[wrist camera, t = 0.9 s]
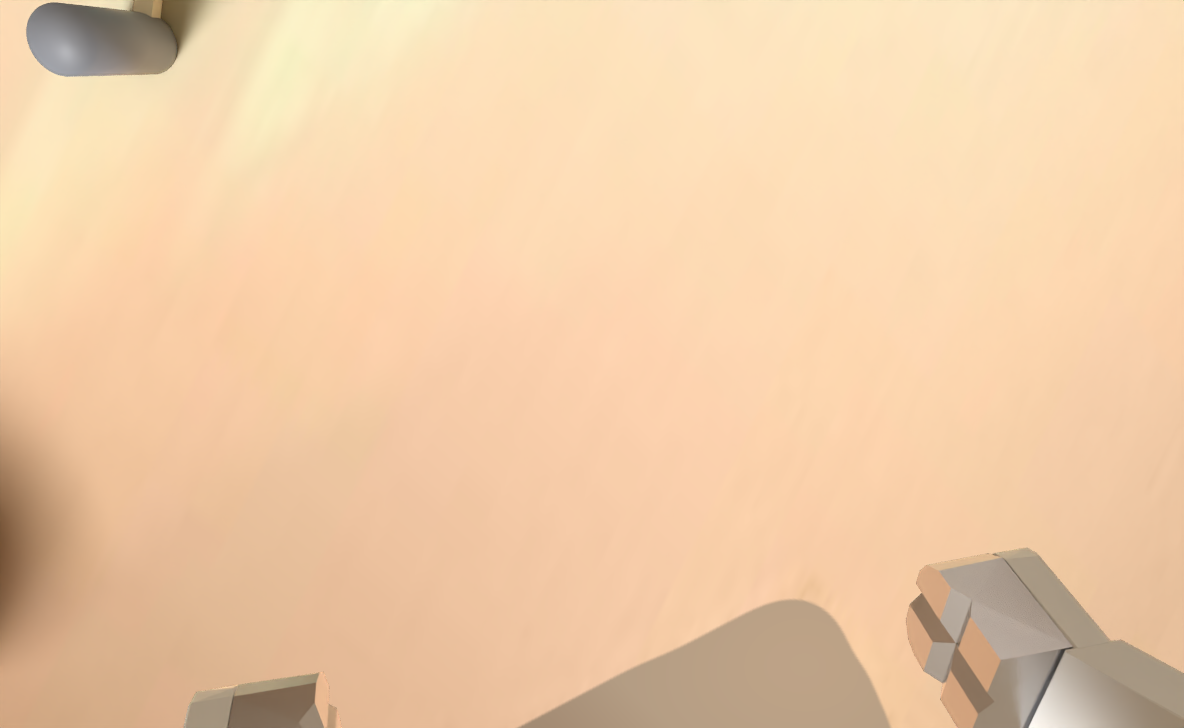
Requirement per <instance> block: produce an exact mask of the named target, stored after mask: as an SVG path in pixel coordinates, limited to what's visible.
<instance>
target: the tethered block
mask: <svg viewBox="0 0 1184 728" xmlns="http://www.w3.org/2000/svg"><path fill="white" fill-rule="evenodd" d="M162 2H163V0H134V4H133V11H127V10H118V9H109V8H100V7H91V6H82V5H73V4H64V3H47V4H44V5H42V6H40V7H38V8H37V9H36V10H35V11H34V12H33V13H32V14H31V16H30V18H29V20H28V23H27V29H26V34H27V41H28V44H29V47H30V49H31V52H32V53H33V55H34V57H35V58H36V59H37V61H38V62H39V63H40V64H41V65H42V66H44V67H45V68H46V69H48V70H49V71H51V72H53V73H55V74H58V75H61V76H106V75H145V74H160V73H162V72H165V71H166V70H168V69H169V68H170V67H171V66H172V64H173V63H174V61H175V59H176V55H177V42H176V38H175V36H174V33H173V31H172V30H171V28H170V27H169V26H168V24H167V23H166V22H165V21H163V20H162V19H161V10H162Z"/></svg>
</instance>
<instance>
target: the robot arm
mask: <svg viewBox="0 0 1184 728" xmlns="http://www.w3.org/2000/svg"><path fill="white" fill-rule="evenodd" d="M916 584H917V586H918V587H919V589H920V590H921V592H922V593H921V594H920V595H919V596H918V597H917V598H916V599H915V600H914V601H913V602H912V603H911V604H910V605H909V610H908V614H907V618H906V625H907V632H908V640H909V642H910V645H911V647H912V650H913V653H914V655H915V657H916V659H917V660H918V662H919V664H920V666H921V667H922V669H923V671H924V672H926V673H928V674H929V675H931V676H932V677H934V678H935V679H937V680H938V681H940V682H942V690H941V698H940V700H941V701H942V703H943V704H944V706H945V708H946V709H947V711H948V713H949V714H950V716H951V718H952V719H953V721H954V723H955V724H956V726H957V728H1184V673H1182V672H1180V671H1179V670H1177V669H1175V668H1173V667H1171V666H1169V665H1167V664H1166V663H1164V662H1162V661H1160V660H1158V659H1156V658H1154V657H1153V656H1151V655H1149V654H1147V653H1145V652H1143V651H1141V650H1140V649H1138V648H1136V647H1134V646H1132V645H1130V644H1128V643H1127V642H1125V641H1123V640H1121V639H1120V640H1114V641H1111V640H1110V639H1109V638H1108V637H1107V636H1106V635H1105V633H1104V632H1103V631H1102V630H1101V629H1100V627H1099V626H1098V625H1097V624H1096V623H1095V621H1094V620H1093V619H1092V618H1091V617H1090V616H1089V614H1088V613H1087V612H1086V611H1085V610H1084V608H1083V607H1082V606H1081V605H1080V604H1079V602H1078V601H1077V600H1076V599H1075V598H1074V597H1073V595H1072V594H1071V593H1070V592H1069V591H1068V589H1067V588H1066V587H1065V586H1064V585H1063V583H1062V582H1061V581H1060V580H1059V579H1058V578H1057V576H1056V575H1055V574H1054V573H1053V572H1052V570H1051V569H1050V568H1049V567H1048V566H1047V564H1046V563H1045V562H1044V561H1043V560H1042V559H1041V557H1040V556H1039V555H1038V554H1037V553H1036V552H1034V551H1032V550H1031V549H1029V548H1019V549H1014V550H1009V551H1004V552H999V553H994V554H989V553H987V554H982V555H977V556H972V557H966V558H961V559H956V560H951V561H945V562H940V563H935V564H930V565H926V566H925V567H924V568H923V569H922V570H920V572H919V575H918V578H917V582H916ZM329 689H330V687H329V684H328V682H327V679H326V677H325V674H324V672H318V673H312V674H305V675H299V676H292V677H286V678H279V679H273V680H266V681H260V682H253V683H247V684H239V685H233V686H227V687H221V688H215V689H210V690H204V691H198V692H196V693H195V695H194V697H193V699H192V700H191V702H190V704H189V706H188V710H187V714H186V719H185V723H184V728H342V725H341V720H340V717H339V714H338V710H337V708H336V707H334V706H332V705H330V704H329Z"/></svg>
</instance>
